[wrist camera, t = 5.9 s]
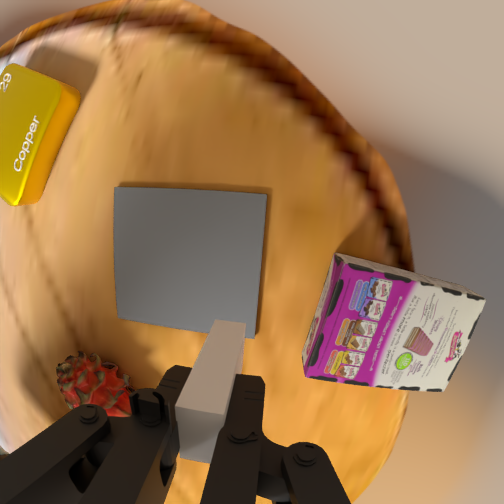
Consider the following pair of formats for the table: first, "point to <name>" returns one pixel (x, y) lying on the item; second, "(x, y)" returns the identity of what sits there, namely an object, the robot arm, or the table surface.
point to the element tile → (31, 130)
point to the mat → (188, 256)
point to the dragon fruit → (94, 384)
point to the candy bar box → (388, 327)
